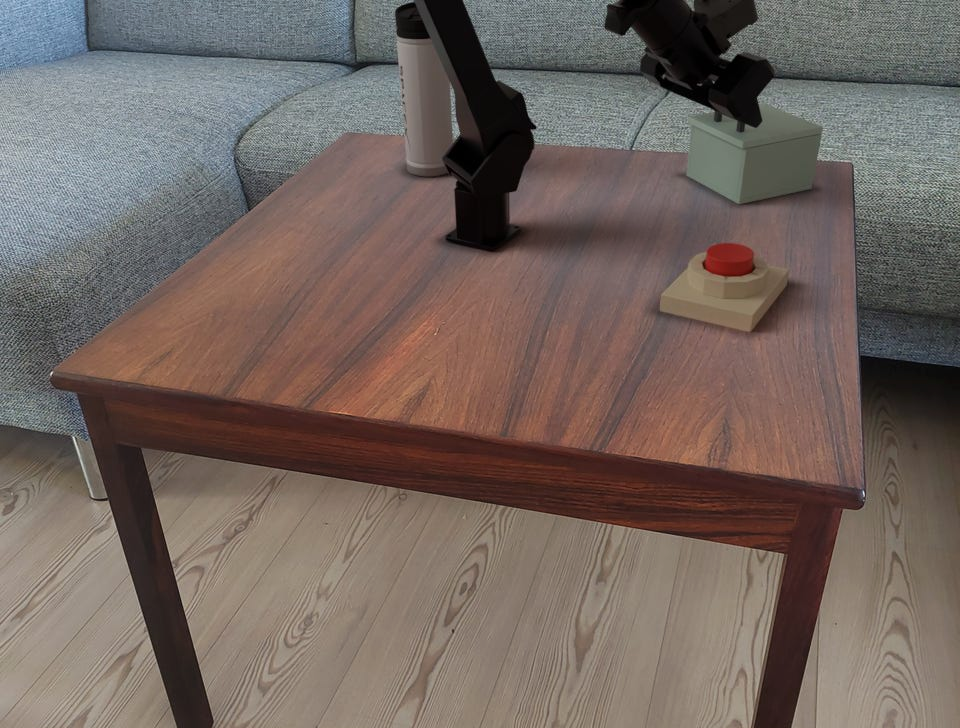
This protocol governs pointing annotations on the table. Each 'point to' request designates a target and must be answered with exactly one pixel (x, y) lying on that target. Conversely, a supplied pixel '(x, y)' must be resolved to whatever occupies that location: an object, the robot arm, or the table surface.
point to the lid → (769, 131)
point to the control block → (724, 294)
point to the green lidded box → (752, 166)
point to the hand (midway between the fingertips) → (739, 116)
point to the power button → (729, 260)
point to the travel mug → (422, 95)
